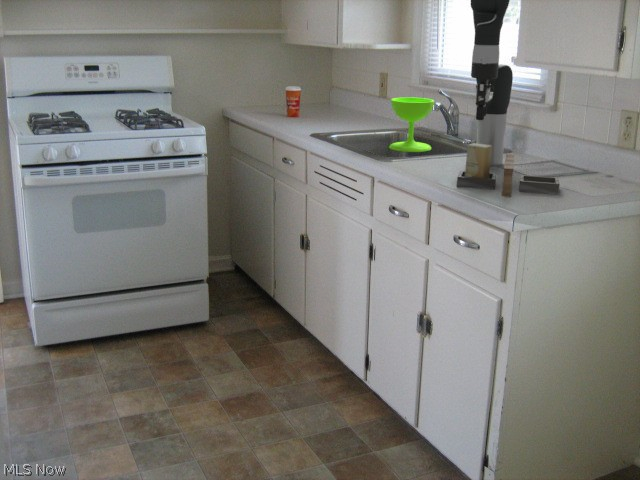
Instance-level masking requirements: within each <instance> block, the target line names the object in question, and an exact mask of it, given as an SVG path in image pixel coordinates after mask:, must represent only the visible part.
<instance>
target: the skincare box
mask: <svg viewBox="0 0 640 480" xmlns="http://www.w3.org/2000/svg"><path fill="white" fill-rule="evenodd" d="M491 154H492V146H491V145H485V144H478V143H477V142H473V143H470V144H467V151H466V161H465V169H464V171H465V177H475V178H489V173H491V172H490V171H491V165H490V163H491Z"/></svg>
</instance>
